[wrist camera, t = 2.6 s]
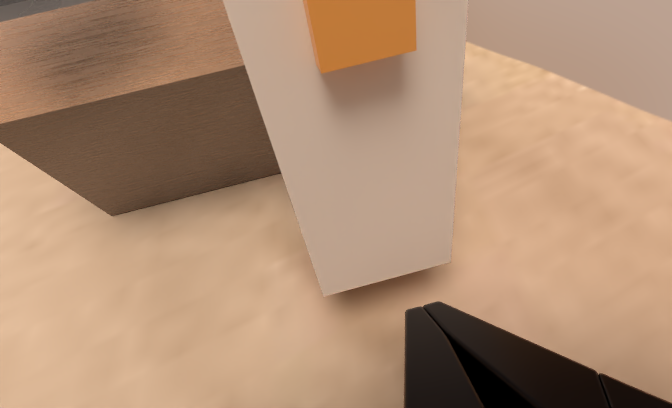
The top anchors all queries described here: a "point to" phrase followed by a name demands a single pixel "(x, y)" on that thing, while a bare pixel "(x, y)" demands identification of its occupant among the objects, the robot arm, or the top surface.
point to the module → (361, 126)
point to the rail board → (130, 99)
